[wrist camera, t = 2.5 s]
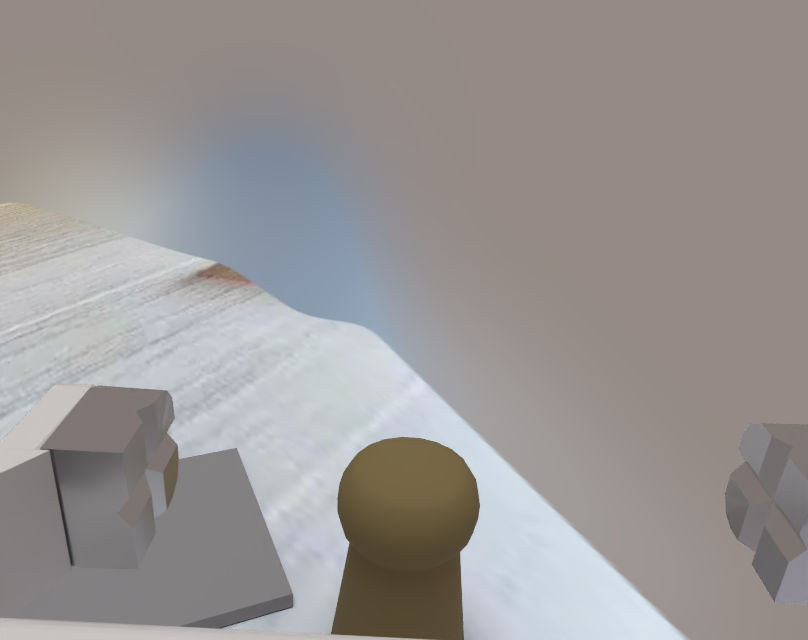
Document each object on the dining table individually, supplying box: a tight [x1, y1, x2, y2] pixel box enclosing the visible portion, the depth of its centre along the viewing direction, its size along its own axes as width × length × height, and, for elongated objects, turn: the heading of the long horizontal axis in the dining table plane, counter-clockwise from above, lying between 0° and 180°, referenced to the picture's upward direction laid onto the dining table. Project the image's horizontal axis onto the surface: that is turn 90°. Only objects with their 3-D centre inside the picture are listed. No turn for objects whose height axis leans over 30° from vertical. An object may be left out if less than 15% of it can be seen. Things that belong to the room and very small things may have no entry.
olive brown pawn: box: [331, 437, 480, 640], centre depth 27 cm, size 6×6×11 cm
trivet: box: [11, 448, 293, 629], centre depth 35 cm, size 12×12×1 cm
